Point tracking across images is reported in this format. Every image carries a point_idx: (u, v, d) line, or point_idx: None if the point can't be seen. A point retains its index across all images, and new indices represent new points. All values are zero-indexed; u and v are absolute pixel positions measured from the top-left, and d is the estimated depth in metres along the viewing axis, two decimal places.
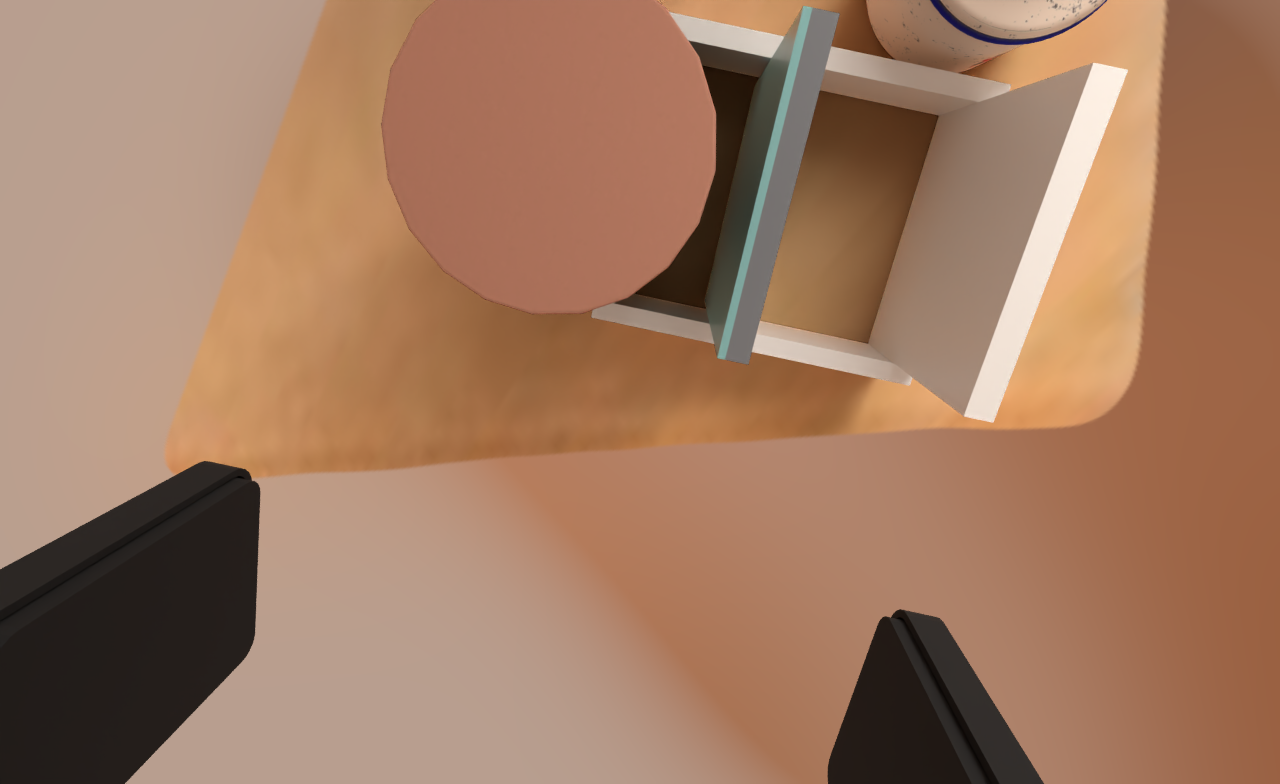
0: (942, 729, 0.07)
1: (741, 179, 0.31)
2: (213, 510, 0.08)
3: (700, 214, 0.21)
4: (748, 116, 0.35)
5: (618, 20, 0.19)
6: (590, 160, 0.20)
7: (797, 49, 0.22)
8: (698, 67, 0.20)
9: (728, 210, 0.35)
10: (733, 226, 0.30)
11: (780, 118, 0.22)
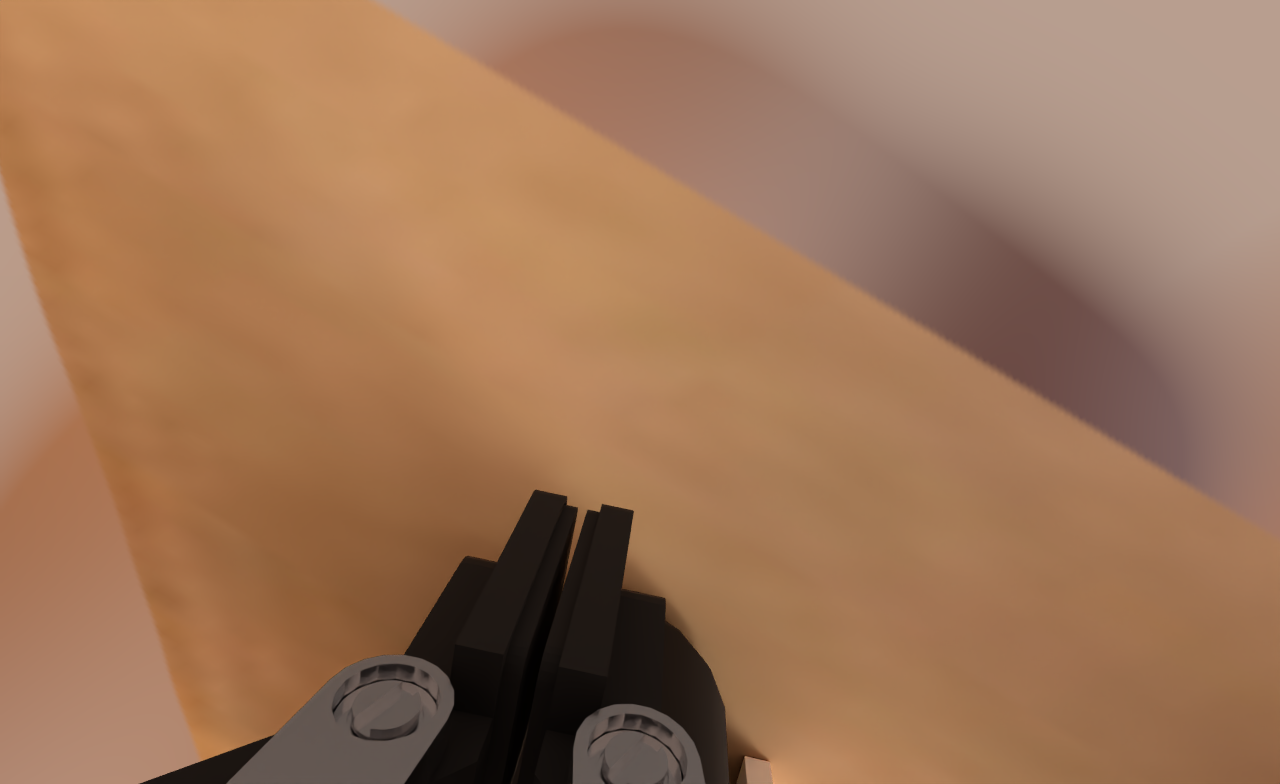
0: (567, 581, 0.08)
1: None
2: None
3: None
4: None
5: None
6: None
7: None
8: None
9: None
10: None
11: None
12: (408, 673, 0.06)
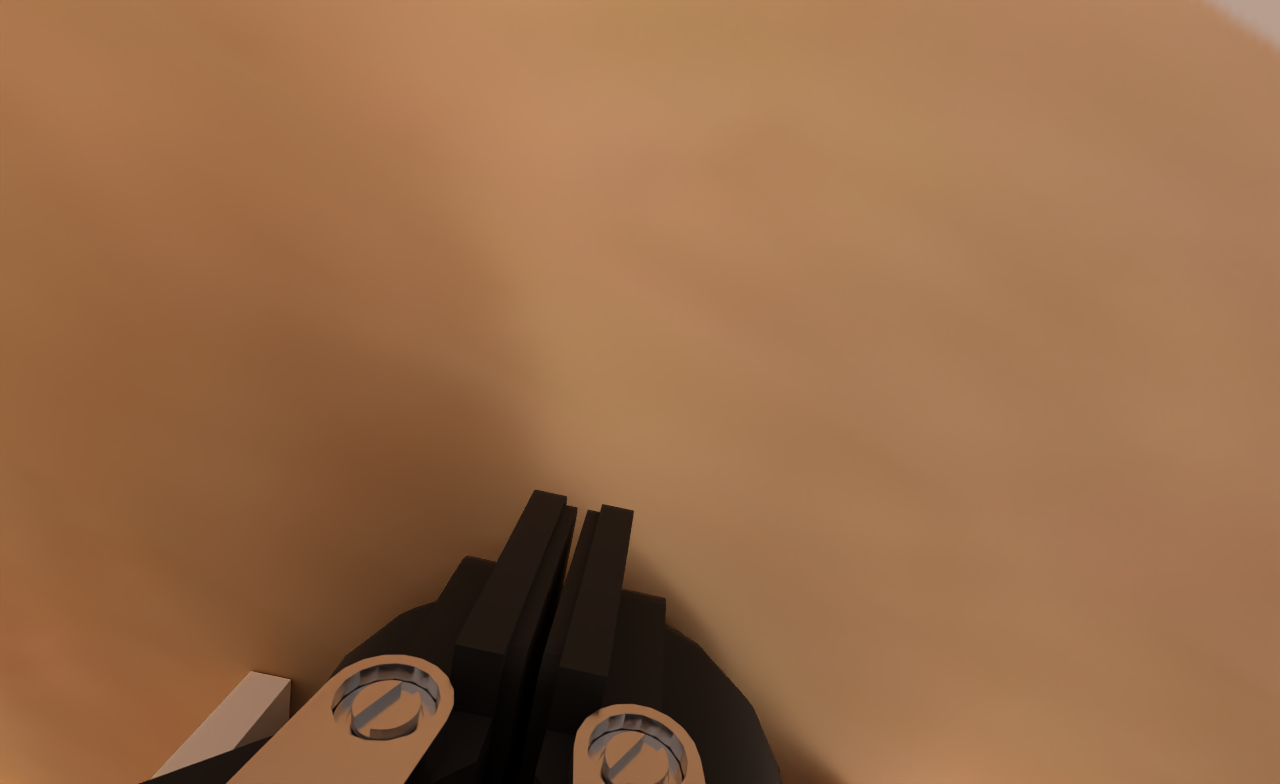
0: (568, 581, 0.08)
1: None
2: None
3: None
4: None
5: None
6: None
7: None
8: None
9: None
10: None
11: None
12: (408, 673, 0.06)
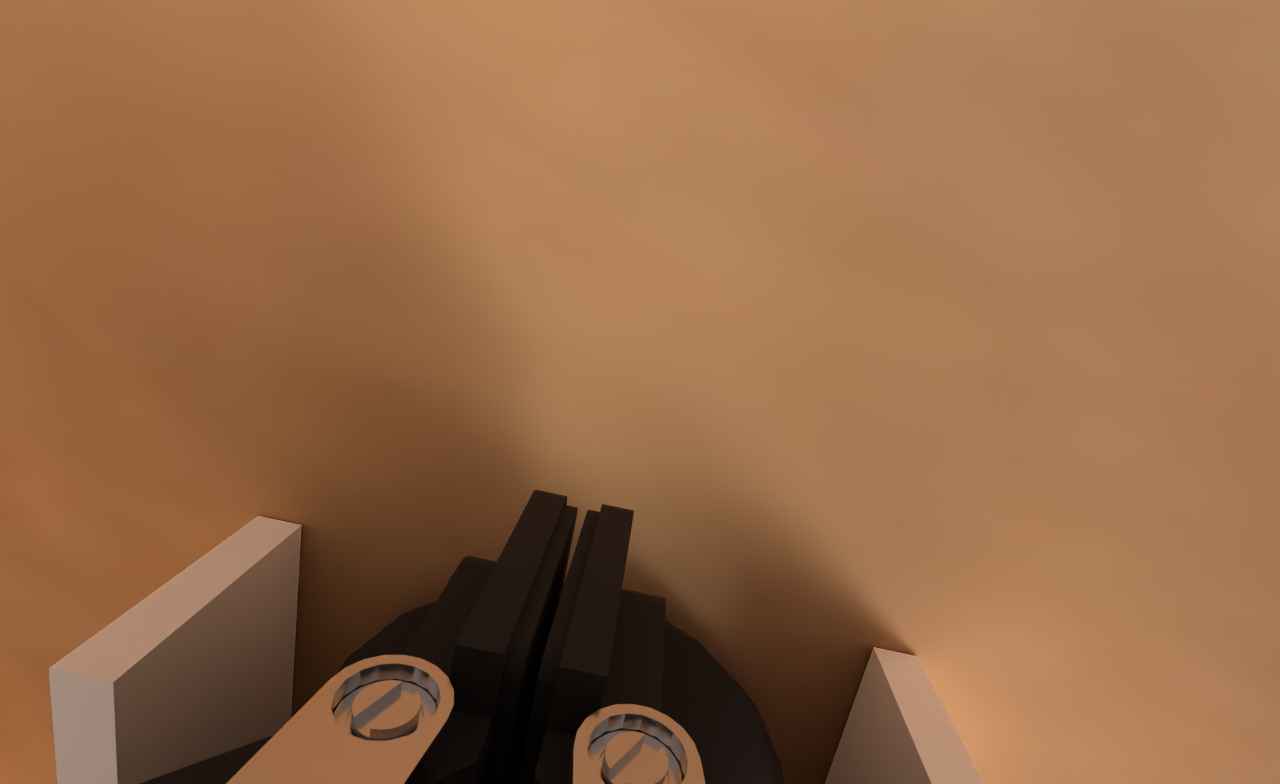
0: (567, 581, 0.08)
1: None
2: None
3: None
4: None
5: None
6: None
7: None
8: None
9: None
10: None
11: None
12: (408, 673, 0.06)
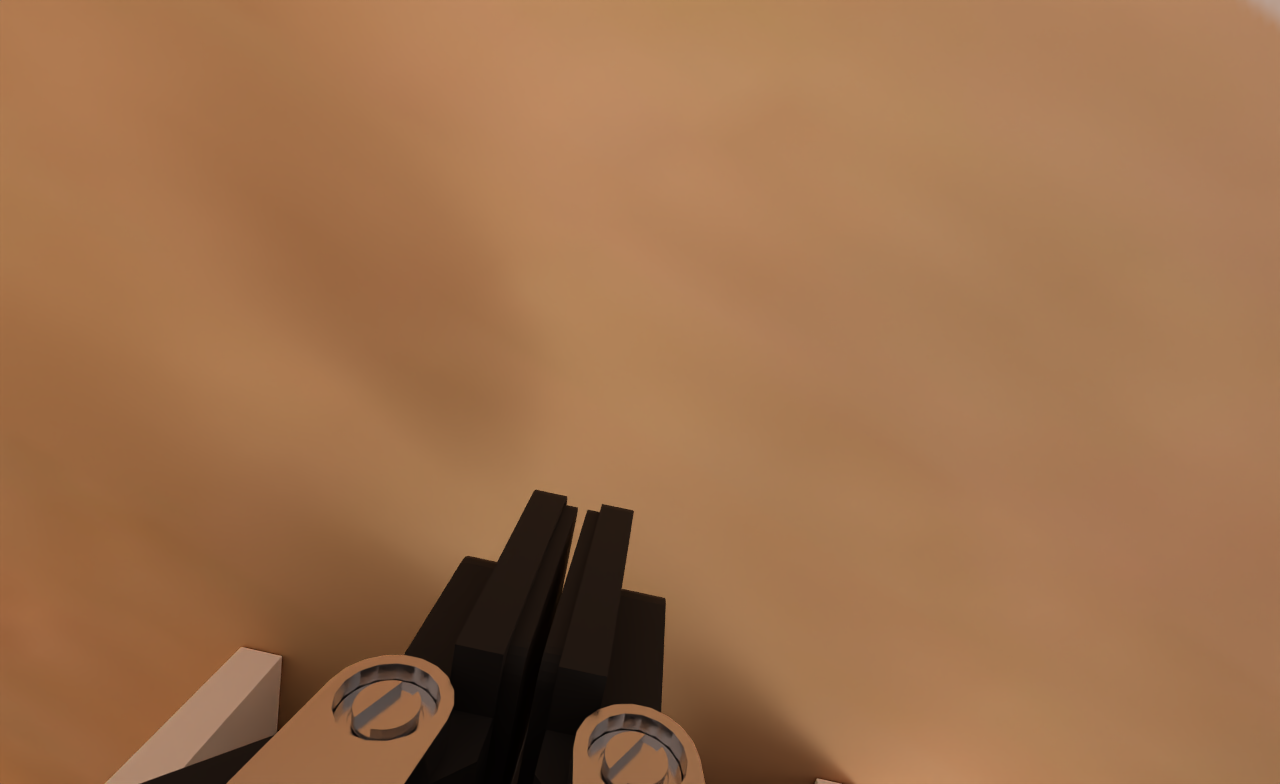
0: (567, 581, 0.08)
1: None
2: None
3: None
4: None
5: None
6: None
7: None
8: None
9: None
10: None
11: None
12: (408, 673, 0.06)
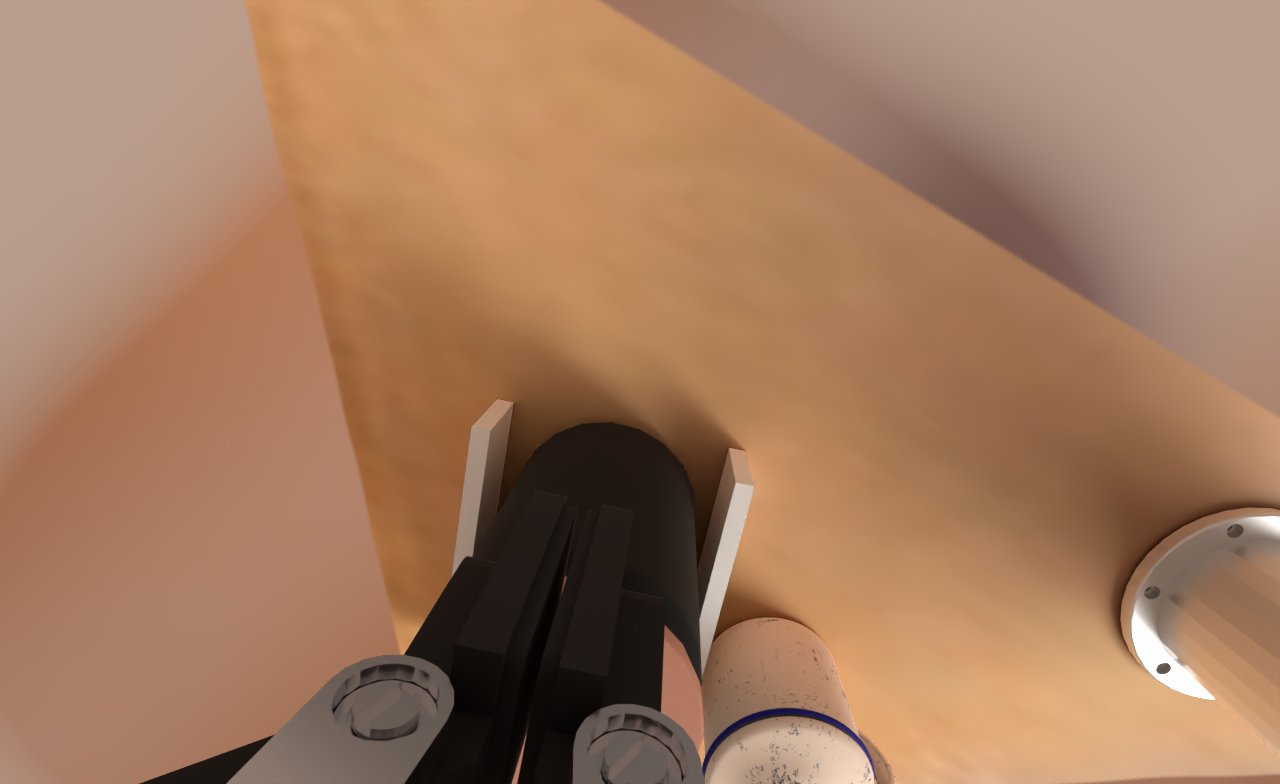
0: (567, 581, 0.08)
1: None
2: None
3: None
4: None
5: None
6: None
7: None
8: None
9: None
10: None
11: None
12: (408, 673, 0.06)
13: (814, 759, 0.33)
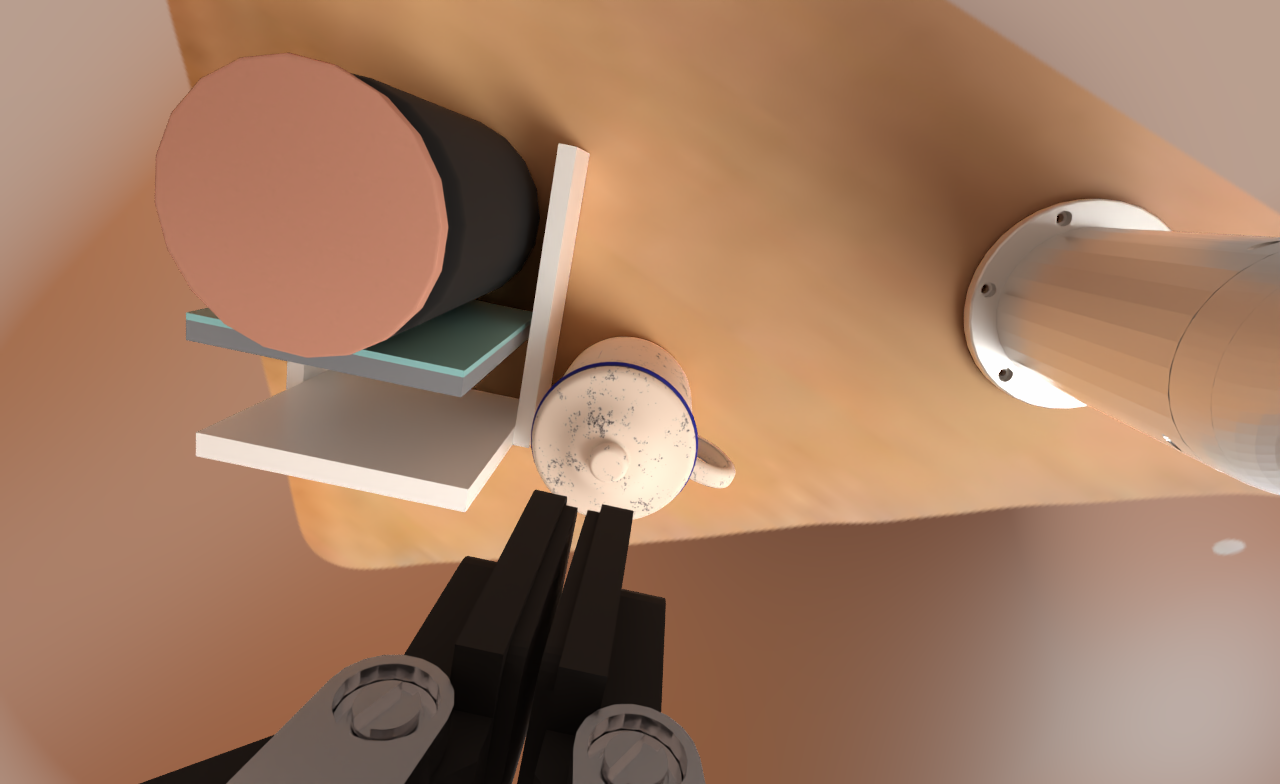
0: (567, 581, 0.08)
1: None
2: None
3: (271, 348, 0.25)
4: (509, 309, 0.41)
5: (400, 274, 0.24)
6: (292, 254, 0.24)
7: (434, 368, 0.28)
8: (377, 339, 0.25)
9: None
10: None
11: (384, 357, 0.28)
12: (408, 673, 0.06)
13: (629, 402, 0.33)
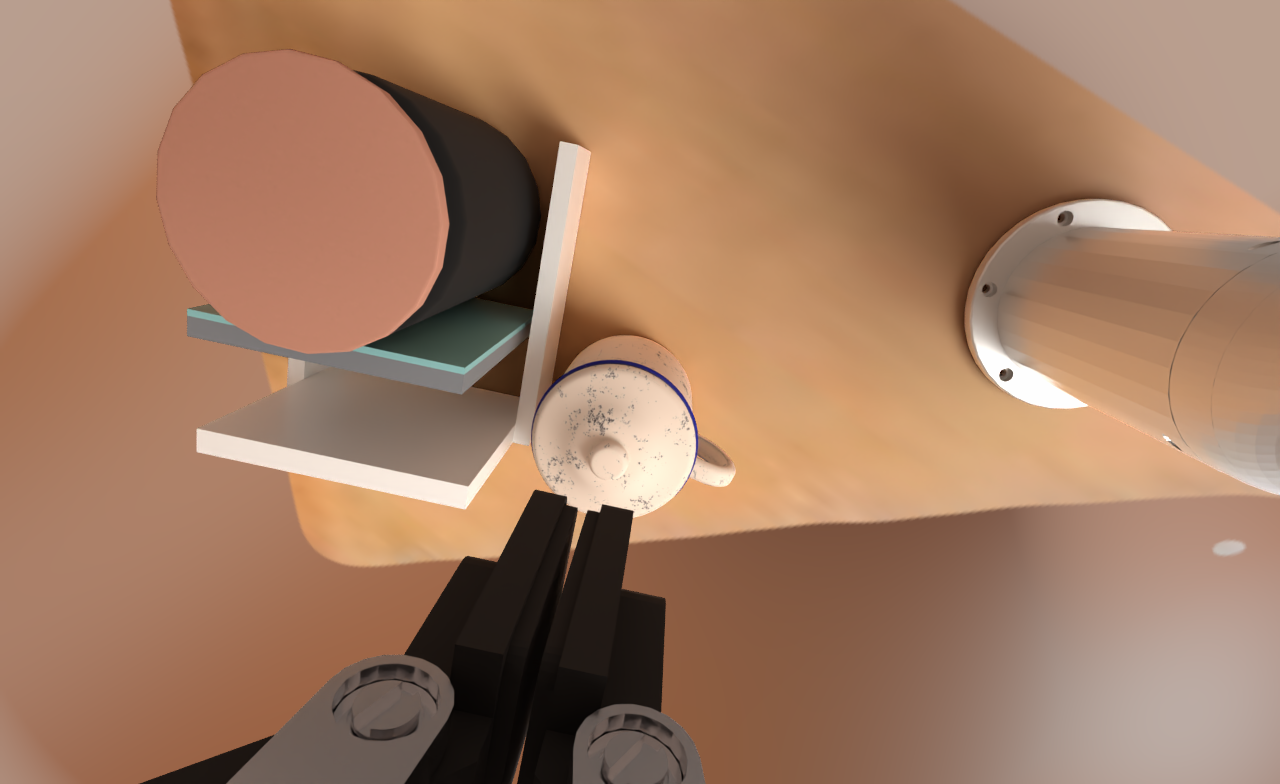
0: (567, 581, 0.08)
1: None
2: None
3: (272, 344, 0.25)
4: (510, 307, 0.41)
5: (400, 271, 0.24)
6: (294, 250, 0.24)
7: (434, 365, 0.28)
8: (378, 336, 0.25)
9: None
10: None
11: (385, 354, 0.28)
12: (408, 673, 0.06)
13: (629, 400, 0.33)
